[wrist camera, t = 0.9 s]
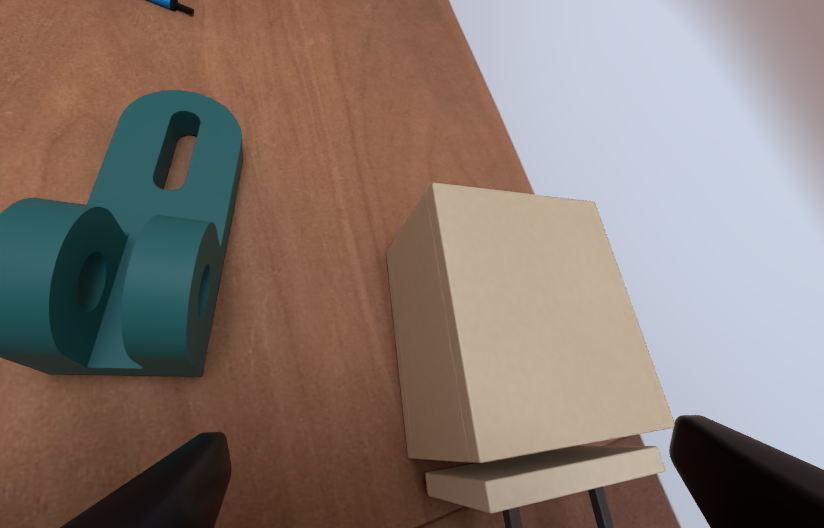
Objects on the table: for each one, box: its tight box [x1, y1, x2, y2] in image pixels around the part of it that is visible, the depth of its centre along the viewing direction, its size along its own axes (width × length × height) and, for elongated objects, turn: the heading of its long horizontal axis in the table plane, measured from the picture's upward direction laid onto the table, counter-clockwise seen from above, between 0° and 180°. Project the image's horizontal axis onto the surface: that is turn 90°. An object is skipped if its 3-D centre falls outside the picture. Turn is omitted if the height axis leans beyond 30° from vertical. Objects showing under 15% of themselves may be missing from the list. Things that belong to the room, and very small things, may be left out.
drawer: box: [425, 446, 665, 528], centre depth 22 cm, size 18×11×7 cm, turn 8°
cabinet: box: [386, 183, 675, 463], centre depth 24 cm, size 14×12×9 cm
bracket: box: [0, 90, 243, 377], centre depth 20 cm, size 18×7×8 cm, turn 2°
